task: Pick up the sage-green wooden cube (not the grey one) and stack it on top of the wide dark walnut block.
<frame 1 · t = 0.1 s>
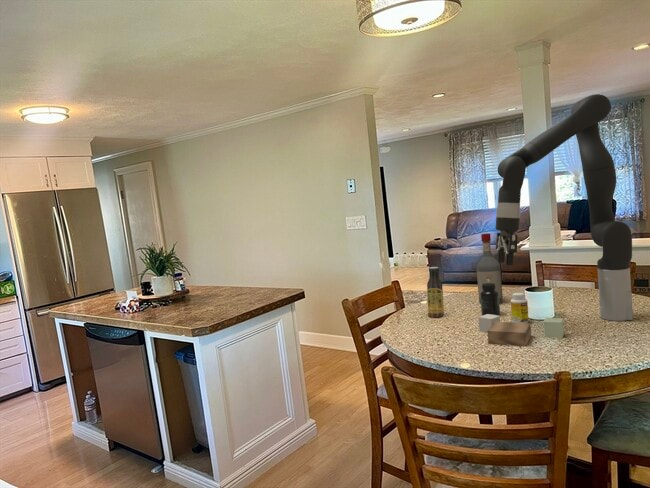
hand: (504, 263, 153), 22 cm above the table, tool pointing down, fingers open, 8 cm apart
sage cube: (554, 335, 141), on the table
grey cube: (490, 330, 153), on the table
walnut block: (510, 339, 142), on the table
liquor: (491, 303, 192), on the table
supplement bottle: (491, 315, 173), on the table
supplement bottle 2: (520, 322, 159), on the table
sauce bottle: (436, 316, 180), on the table
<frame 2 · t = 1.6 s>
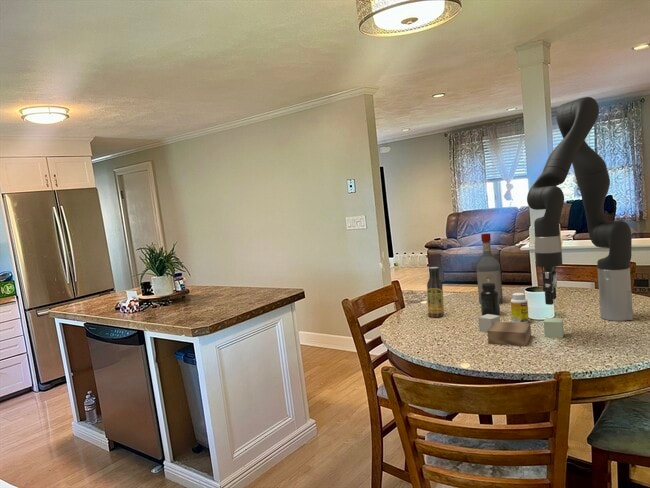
hand: (551, 301, 140), 11 cm above the table, tool pointing down, fingers open, 8 cm apart
nothing on the table moved.
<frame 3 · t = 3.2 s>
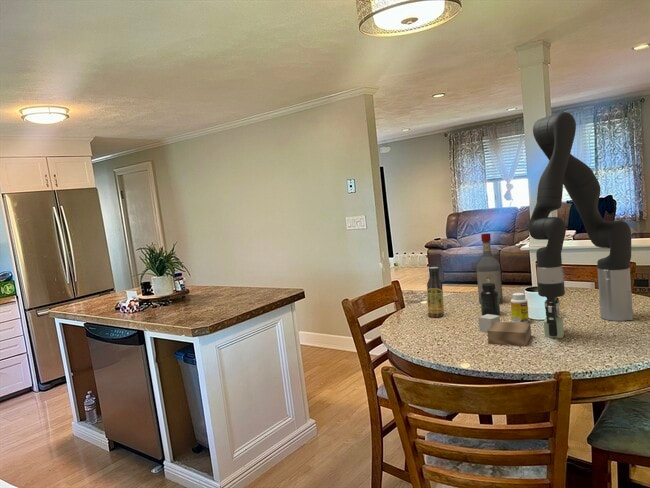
hand: (554, 333, 141), 1 cm above the table, tool pointing down, fingers closed on sage cube, 5 cm apart
sage cube: (554, 335, 141), on the table, touching gripper
everything else where it was.
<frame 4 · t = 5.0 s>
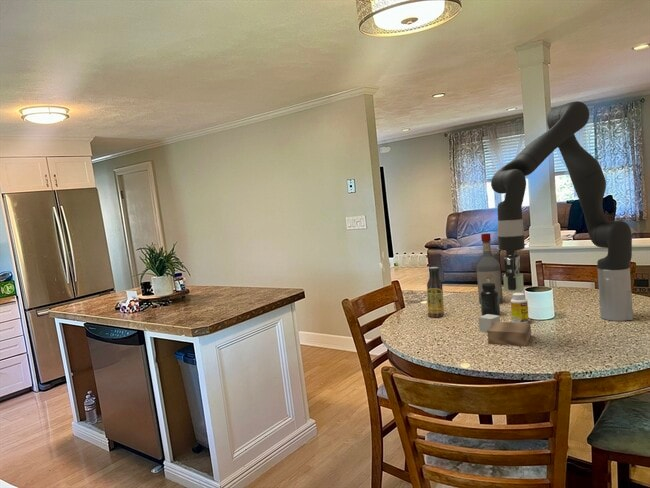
hand: (513, 288, 140), 16 cm above the table, tool pointing down, fingers closed on sage cube, 5 cm apart
sage cube: (513, 290, 140), point 16 cm above the table, touching gripper
everything else where it was.
when the fingers open (6 cm above the table, at t = 7.0 s): sage cube stays where it is, resting on walnut block.
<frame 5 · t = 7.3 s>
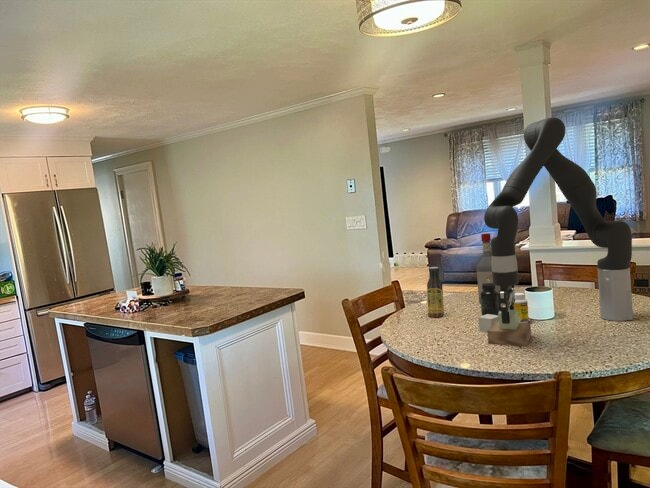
hand: (508, 320, 141), 6 cm above the table, tool pointing down, fingers open, 8 cm apart
sage cube: (509, 326, 141), point 4 cm above the table, touching walnut block
everything else where it was.
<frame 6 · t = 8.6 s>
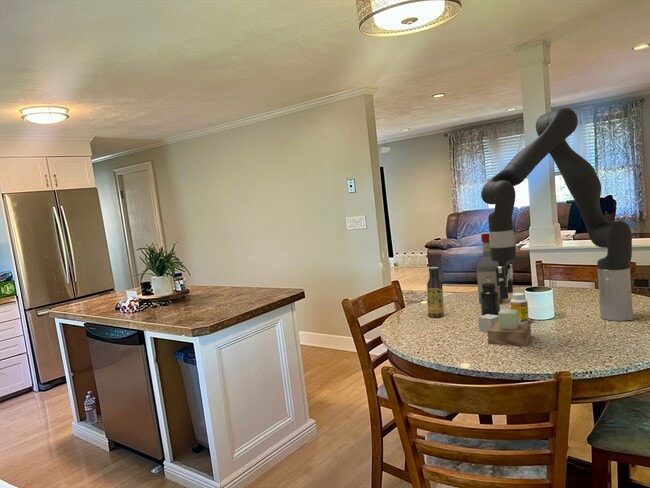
hand: (507, 295, 141), 14 cm above the table, tool pointing down, fingers open, 8 cm apart
nothing on the table moved.
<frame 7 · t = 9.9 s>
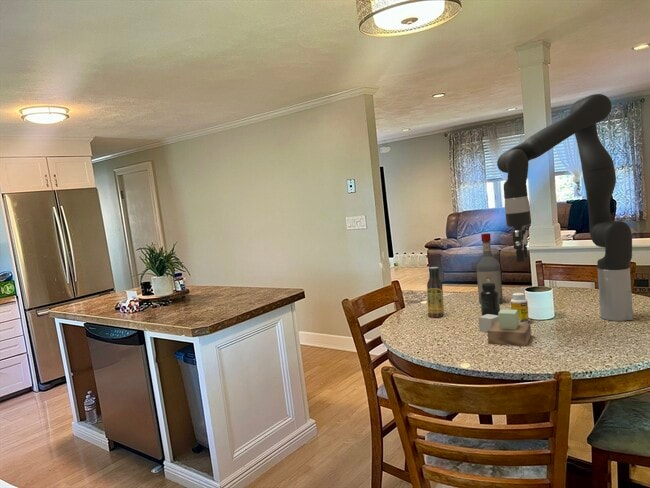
hand: (522, 259, 148), 24 cm above the table, tool pointing down, fingers open, 8 cm apart
nothing on the table moved.
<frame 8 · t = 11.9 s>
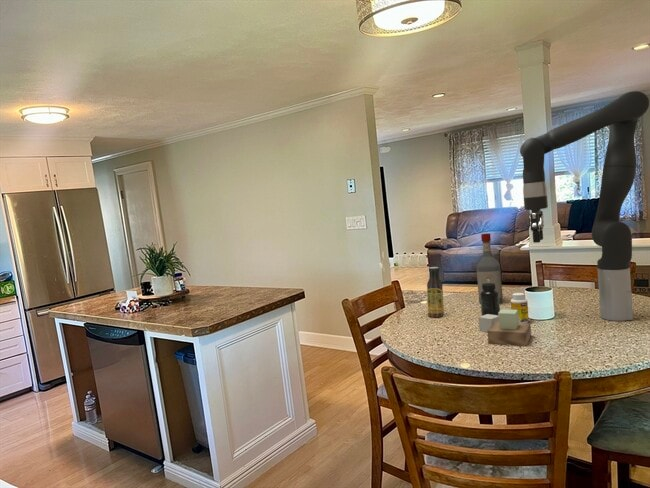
hand: (538, 241, 159), 28 cm above the table, tool pointing down, fingers open, 8 cm apart
nothing on the table moved.
at the end: sage cube inside the target area on the walnut block (0.0 cm from its centre), point 4.0 cm above the walnut block's base; sage cube tilted 0°; the gripper is holding nothing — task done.
